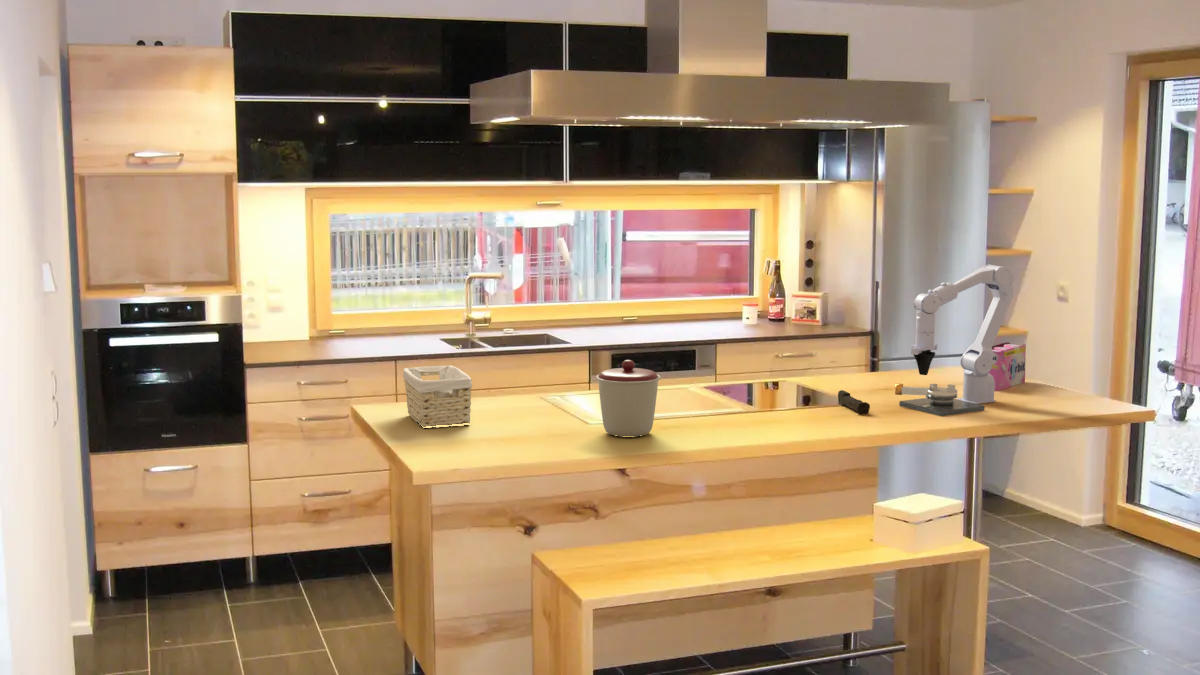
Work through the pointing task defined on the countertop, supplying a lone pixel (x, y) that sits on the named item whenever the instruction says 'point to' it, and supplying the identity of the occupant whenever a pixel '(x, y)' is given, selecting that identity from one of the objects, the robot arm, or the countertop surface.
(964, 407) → the plate
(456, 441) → the countertop surface
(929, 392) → the grey mechanical part
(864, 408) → the hand tool
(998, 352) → the gum box
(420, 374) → the storage basket
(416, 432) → the countertop surface
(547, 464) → the countertop surface
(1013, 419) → the countertop surface
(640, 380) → the canister
